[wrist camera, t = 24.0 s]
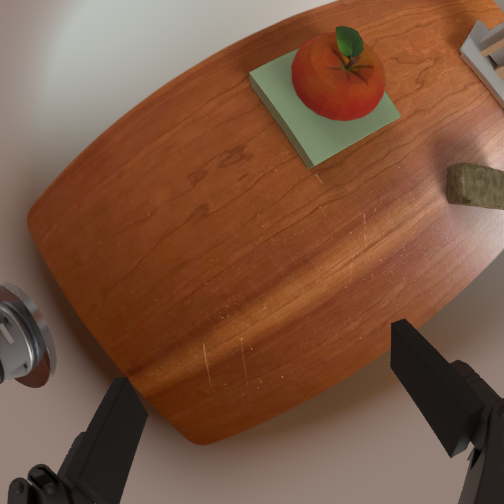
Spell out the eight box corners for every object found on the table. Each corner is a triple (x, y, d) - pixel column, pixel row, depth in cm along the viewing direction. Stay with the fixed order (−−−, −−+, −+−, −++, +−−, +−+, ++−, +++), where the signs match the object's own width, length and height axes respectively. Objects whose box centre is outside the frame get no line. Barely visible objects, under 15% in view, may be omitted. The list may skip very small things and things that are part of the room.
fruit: (295, 134, 29) (312, 105, 19) (280, 58, 28) (287, 10, 18) (376, 128, 29) (419, 104, 19) (358, 56, 27) (388, 15, 17)
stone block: (442, 163, 33) (463, 160, 28) (492, 172, 33) (513, 171, 28) (443, 205, 34) (464, 206, 29) (493, 208, 34) (514, 210, 29)
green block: (308, 170, 34) (314, 166, 30) (249, 85, 32) (248, 72, 28) (388, 123, 32) (401, 116, 28) (332, 45, 31) (339, 31, 27)
